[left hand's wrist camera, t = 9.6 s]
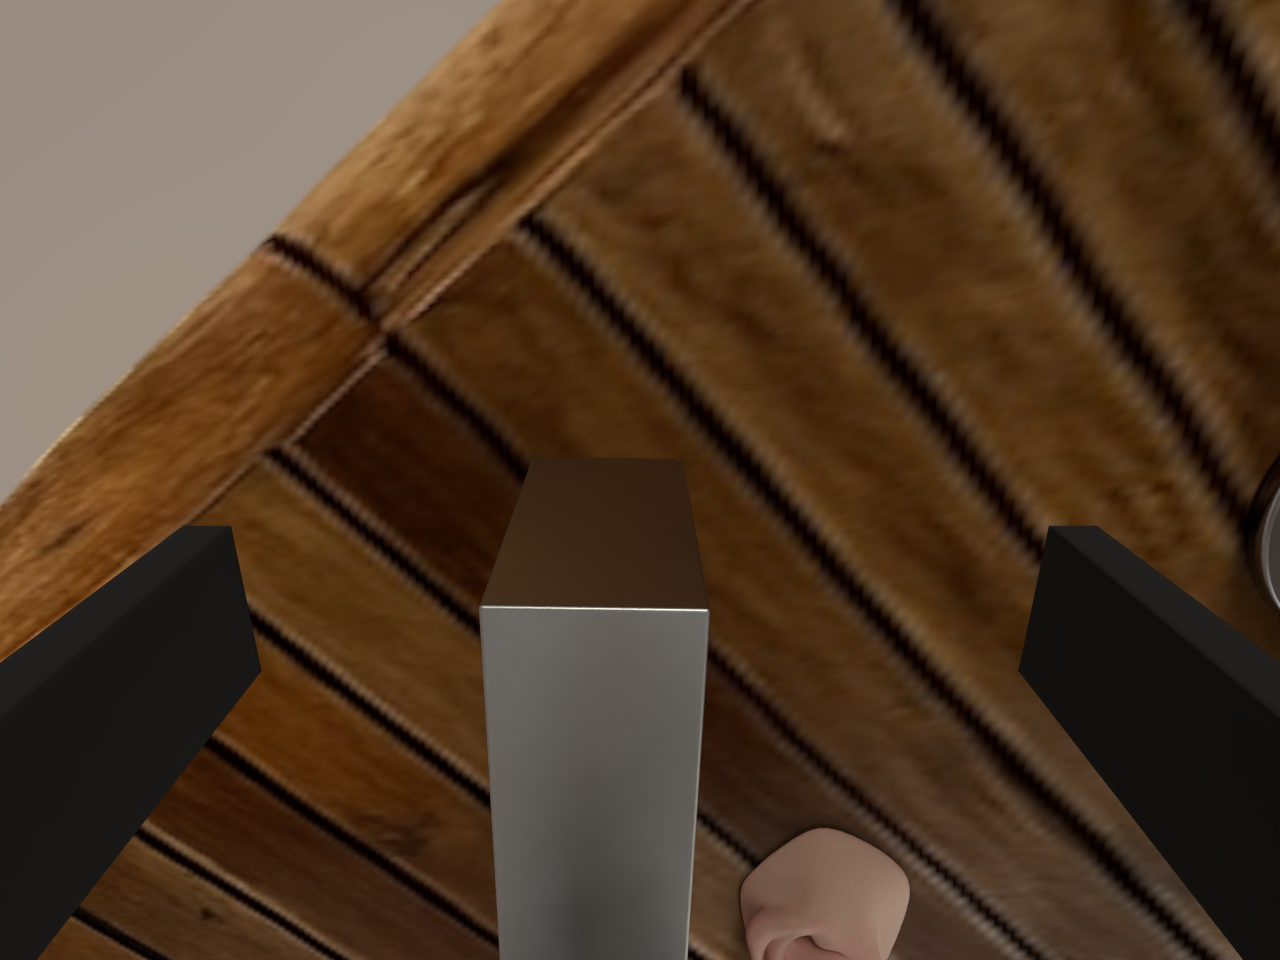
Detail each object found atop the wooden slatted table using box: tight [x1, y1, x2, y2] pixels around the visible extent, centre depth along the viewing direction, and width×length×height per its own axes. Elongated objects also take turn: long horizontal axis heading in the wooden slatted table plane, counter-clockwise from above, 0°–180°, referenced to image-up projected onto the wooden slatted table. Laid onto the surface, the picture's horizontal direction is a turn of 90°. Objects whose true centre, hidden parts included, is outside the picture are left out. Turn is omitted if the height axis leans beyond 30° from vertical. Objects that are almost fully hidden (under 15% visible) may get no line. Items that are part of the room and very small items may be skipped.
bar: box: [479, 457, 710, 960], centre depth 24 cm, size 26×5×9 cm, turn 179°
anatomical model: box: [740, 828, 910, 960], centre depth 47 cm, size 13×4×12 cm
